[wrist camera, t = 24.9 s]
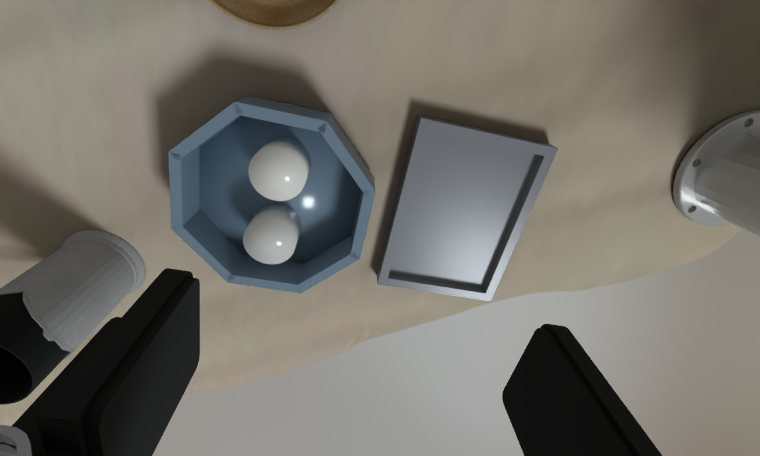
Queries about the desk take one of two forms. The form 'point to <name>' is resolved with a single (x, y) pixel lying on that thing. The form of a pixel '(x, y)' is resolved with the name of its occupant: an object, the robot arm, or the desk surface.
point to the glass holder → (61, 306)
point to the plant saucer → (275, 12)
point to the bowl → (241, 200)
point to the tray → (461, 208)
